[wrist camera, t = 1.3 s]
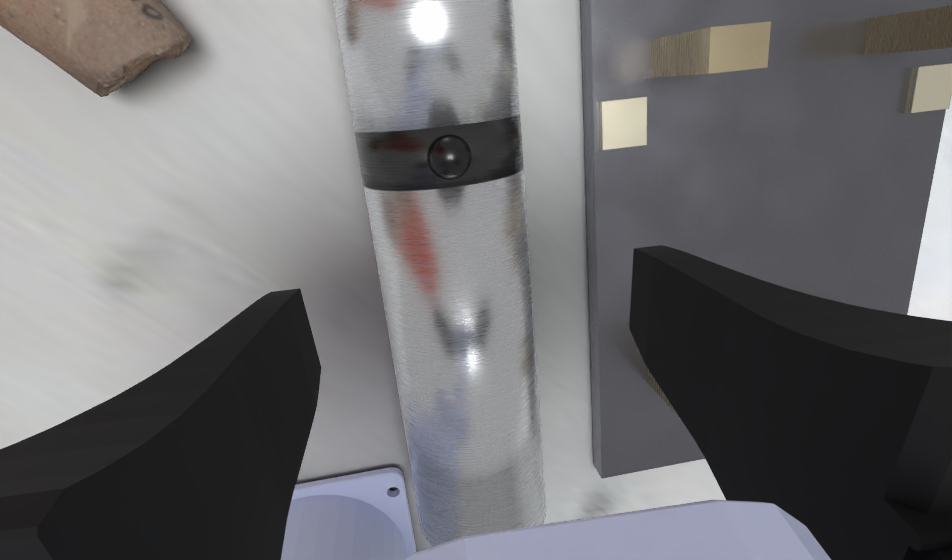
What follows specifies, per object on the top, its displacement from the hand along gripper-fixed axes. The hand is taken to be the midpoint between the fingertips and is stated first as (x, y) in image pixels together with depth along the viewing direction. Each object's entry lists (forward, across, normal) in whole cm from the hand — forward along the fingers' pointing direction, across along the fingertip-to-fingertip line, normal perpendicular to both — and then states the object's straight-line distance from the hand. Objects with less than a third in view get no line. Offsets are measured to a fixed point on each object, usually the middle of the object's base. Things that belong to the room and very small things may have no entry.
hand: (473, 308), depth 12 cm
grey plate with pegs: (+9, -12, +2) cm, 16 cm away
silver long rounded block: (+8, 0, +2) cm, 9 cm away
